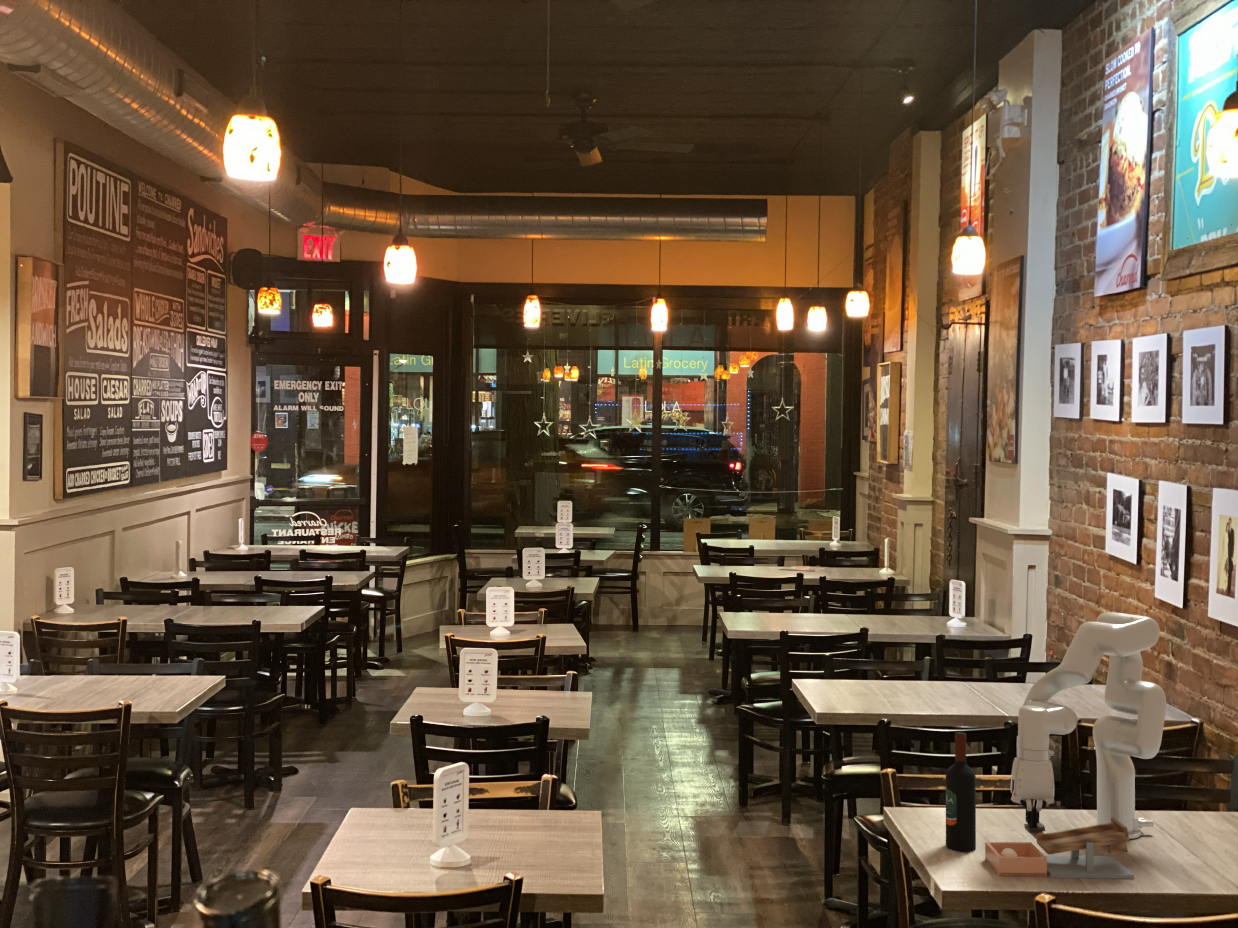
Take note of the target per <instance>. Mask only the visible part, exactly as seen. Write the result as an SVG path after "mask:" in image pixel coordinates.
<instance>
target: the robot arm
mask: <svg viewBox="0 0 1238 928" xmlns="http://www.w3.org/2000/svg"><path fill="white" fill-rule="evenodd" d="M1160 636H1161V629H1160V626H1159V623H1158V622H1157V620H1155V619H1154V618H1152V617H1150V616H1145V615H1137V614H1132V613H1131V614H1129V613H1123V612H1115V611H1114V612H1112V611H1111V612H1109V611H1108V612H1103V613H1100V614H1099V615H1098V617H1097V618H1096V621H1085V622H1083V623H1082V624H1081V625H1080V626H1079V627H1078V628H1077V630H1076V632H1075V635H1074V636H1073V638H1072V640H1071V643H1070V644H1069V646H1068V648H1067V650H1066V652H1065V655H1064V656H1063V659H1062V660H1061V662H1060V664H1059V665H1058V666H1057V667H1055V668H1053V669H1051V670H1050V671H1048V672H1047V673H1045V674H1044V675H1043V676H1041V677H1040V678H1039V679H1037V680H1036V681H1035V682H1034V683H1033V685H1032V686H1031V688H1030V689H1029V691H1028V694H1027V695H1026V697H1025V699H1024V702H1023V704H1022V706H1020V708H1019V709H1018V716H1017V717H1018V718H1017V720H1018V723H1017V727H1018V728H1017V729H1018V730H1017V757H1014V759H1013V763H1012V768H1011V775H1010V777H1011V778H1010V793H1011V797H1010V800H1011V801H1012V803H1015V804H1020V805H1022V807H1023V808H1024V809H1025V822H1026V824H1028V825H1029V826H1030V827H1037V824H1038V823H1039V822H1040V812H1041V811H1042V809H1043V808H1044V807H1045V806H1046V805H1047V806H1048V805H1051V804H1055V777H1054V770H1053V763H1052V760H1051V759H1050V757H1052V756H1055V751H1054V750H1051V749H1050V735H1063V736H1064V735H1067V734H1070V733H1072V732H1073V731H1074V730H1075V729H1076V728H1077V725H1078V722H1079V721H1078V719H1079V718H1078V716H1077V713H1076V712H1075V711H1074V710H1073V709H1072V708H1071V707H1069V706H1067V705H1064V704H1063V705H1062V704H1058V703H1054V702H1050V700H1051V699H1052V698H1053V697H1054V696H1055V695H1057V694H1058V693H1060V692H1062V691H1064V690H1068V689H1071V688H1076V687H1080V686H1083V685H1086V684H1088V683H1089V682H1091V681H1092V679H1093V677H1094V676H1095V673H1096V671H1097V669H1098V667H1099V665H1100V663H1101V661H1102V659H1103V657H1104V656H1109V657H1108V659H1109V663H1108V670H1107V675H1106V676H1107V677H1106V683H1105V690H1104V702H1105V705H1106V707H1107V708H1109V709H1110V710H1112V711H1115V712H1120V713H1123V714H1128V715H1132V716H1137V720H1134V719H1130V718H1126V717H1123V716H1116V715H1104V716H1101V717H1098V718H1097V719H1096V720H1095V722H1094V724H1093V726H1092V739H1093V743H1094V748H1095V756H1096V821H1095V822H1092V823H1091V825H1090V826H1095V825H1101V824H1107V823H1111V818H1115V819H1116V820H1118V821H1119V822H1120V823H1122V824H1123V825H1124V826H1126V827H1127V830H1128V836H1129V840H1132V839H1138V838H1139V837H1141V836H1142V830H1141V829H1142V827H1145V828H1153V827H1154V820H1152V819H1145V818H1144V817H1138V816H1136V815H1135V813H1136V812H1135V811H1136V808H1135V807H1136V796H1135V795H1136V789H1135V787H1136V786H1135V783H1136V782H1135V780H1136V779H1135V778H1136V774H1135V773H1136V772H1135V765H1134V763H1133V760H1132V759H1131V757H1134V758H1139V759H1143V760H1148V759H1153V758H1155V757H1156V755H1157V754H1158V752H1159V751H1160V747H1161V744H1162V739H1163V738H1162V737H1163V734H1164V733H1163V732H1164V726H1165V718H1166V713H1167V698H1166V697H1167V696H1166V693H1165V692H1164V690H1163V687H1161V686H1160V685H1158V684H1157V683H1154V682H1150V681H1147V680H1146V681H1145V680H1142V676H1143V668H1144V660H1143V657H1142V655H1141V652H1143V651H1146V650H1149V649H1151V648H1152V647H1154V646H1155V645H1156V644H1157V642H1158V641H1159V639H1160ZM1031 800H1033V805H1032V801H1031Z"/></svg>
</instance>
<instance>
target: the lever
mask: <svg viewBox="0 0 1238 928" xmlns="http://www.w3.org/2000/svg"><path fill="white" fill-rule="evenodd" d="M1023 826H1024V829H1025V831H1027V832H1028V833H1029V834H1030V835H1031V836H1032V837H1033V838H1034V839H1035V840H1036V844H1037V846H1039V847H1040V848H1041V850H1043V851H1044V852H1045V853H1046V854H1047V855H1054V854H1062V853H1066V852H1071V851H1073V850H1079V851H1080V850H1084V849H1085V850H1086V842H1093V843H1094V848H1095V847H1096V848H1097V847H1102V849H1104V850H1105V851H1107V853H1108V854H1110V856H1113V855H1114V856H1115V855H1119V854H1120V855H1121V854H1126V853H1128V852H1129V851H1128V846H1127V845H1128V844H1127V842H1130V839H1129V836H1128V830H1127V827H1126V826H1124V825H1123V824H1122V823H1120V822H1119V821H1118V820H1116V819H1115V818H1111V823H1107V824H1101V825H1095V826H1091V825H1088V826H1083V827H1077V828H1072V829H1066V830H1060V831H1053V832H1048V833H1045V832H1046V827H1045V825H1044V824H1042V822H1041V821H1039V823H1038V824H1037V827H1030V826H1029V825H1028V824H1027V823H1024V824H1023Z"/></svg>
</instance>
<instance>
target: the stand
mask: <svg viewBox="0 0 1238 928" xmlns="http://www.w3.org/2000/svg"><path fill="white" fill-rule="evenodd" d="M1094 848H1095V847H1094V843H1093V842H1086V849H1085V855H1080V850H1073V851H1070V852H1071V854H1070V855H1051V854H1049V855H1048V854H1047V855H1044V854H1043V855H1044V856H1045V857H1046V858H1047V876H1049V878H1052V879H1053V878H1055V879H1056V878H1057V879H1060V878H1061V879H1063V878H1064V879H1067V878H1068V879H1120V880H1121V879H1123V880H1125V879H1128V880H1134V879H1135V874H1134V873H1133V872H1132V871H1131V870H1129V869H1128V868H1127V867H1126V866H1124V865H1123V864H1122V862H1120V861H1119V860H1118V859H1116V858H1115V857H1114V856H1113V855H1109V856H1108V855H1107V856H1106V855H1094V854H1095V851H1094V850H1095V849H1094Z"/></svg>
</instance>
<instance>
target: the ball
mask: <svg viewBox="0 0 1238 928" xmlns="http://www.w3.org/2000/svg"><path fill="white" fill-rule="evenodd" d="M1001 856H1005V857H1017V853H1016V852H1015V851H1014V850H1013V849H1011V848H1006V849H1004V850H1003V851H1002V852H1001Z"/></svg>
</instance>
